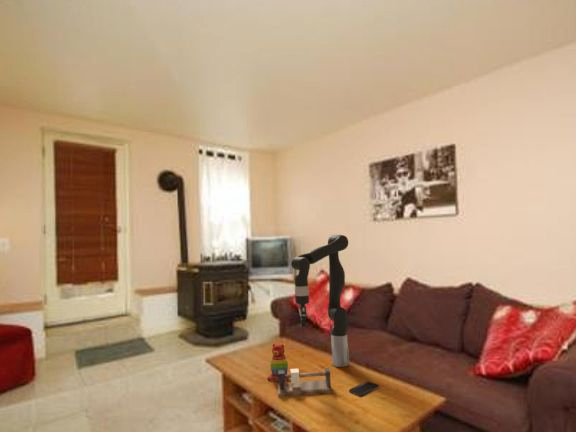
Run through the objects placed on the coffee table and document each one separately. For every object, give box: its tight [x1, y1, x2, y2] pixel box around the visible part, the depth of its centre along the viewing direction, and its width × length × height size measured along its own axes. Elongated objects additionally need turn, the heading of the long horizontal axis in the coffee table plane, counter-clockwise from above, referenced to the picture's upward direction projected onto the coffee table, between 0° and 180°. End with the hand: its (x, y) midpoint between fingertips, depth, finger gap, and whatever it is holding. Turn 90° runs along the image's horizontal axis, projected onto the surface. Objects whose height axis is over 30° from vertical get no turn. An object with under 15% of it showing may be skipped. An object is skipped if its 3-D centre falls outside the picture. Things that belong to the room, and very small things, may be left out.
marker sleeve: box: [289, 368, 301, 383], centre depth 173 cm, size 4×5×5 cm
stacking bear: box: [266, 343, 289, 382], centre depth 188 cm, size 11×10×18 cm
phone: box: [348, 381, 380, 398], centre depth 170 cm, size 8×1×15 cm
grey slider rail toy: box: [277, 367, 333, 398], centre depth 173 cm, size 26×12×9 cm, turn 93°
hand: (303, 324), depth 188 cm, fingers open, 8 cm apart
